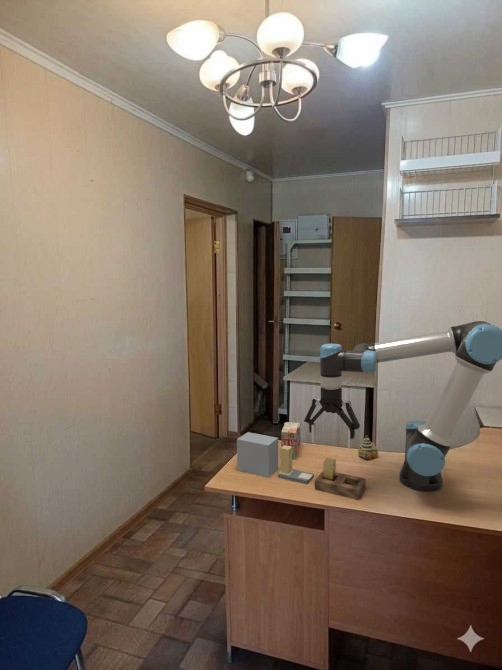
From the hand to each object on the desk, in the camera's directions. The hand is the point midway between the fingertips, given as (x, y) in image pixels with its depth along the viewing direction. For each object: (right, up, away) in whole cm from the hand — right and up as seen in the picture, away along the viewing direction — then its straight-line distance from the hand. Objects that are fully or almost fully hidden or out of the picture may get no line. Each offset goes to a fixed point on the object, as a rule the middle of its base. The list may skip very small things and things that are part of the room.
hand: (331, 444), depth 158 cm
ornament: (+21, -13, +28) cm, 37 cm away
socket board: (+3, -16, 0) cm, 17 cm away
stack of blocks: (-11, -12, +37) cm, 40 cm away
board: (-12, -15, +10) cm, 22 cm away
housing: (-27, -15, +17) cm, 35 cm away
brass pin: (0, -16, +2) cm, 16 cm away
